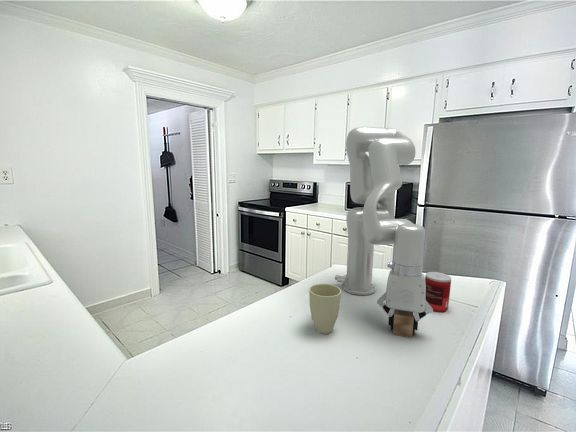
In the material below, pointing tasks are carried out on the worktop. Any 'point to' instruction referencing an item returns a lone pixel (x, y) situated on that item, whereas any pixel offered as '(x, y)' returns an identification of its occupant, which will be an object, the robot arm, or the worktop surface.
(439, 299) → the canned food
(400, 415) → the worktop surface
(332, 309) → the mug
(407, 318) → the walnut block
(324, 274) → the worktop surface
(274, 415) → the worktop surface
